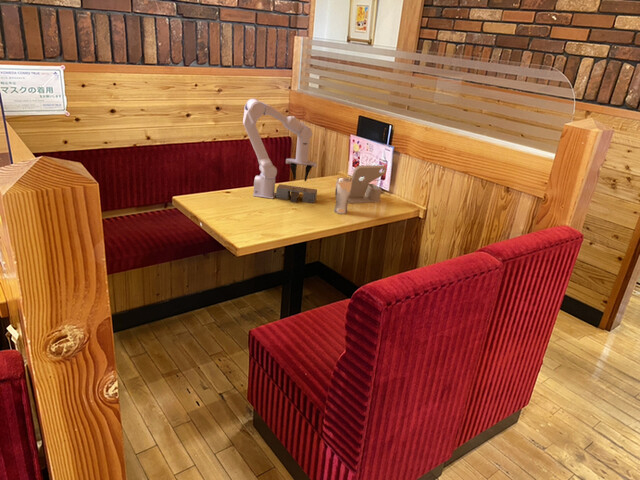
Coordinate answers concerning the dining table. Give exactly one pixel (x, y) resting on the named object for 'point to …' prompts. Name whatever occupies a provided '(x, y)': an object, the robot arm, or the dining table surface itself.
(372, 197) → the phone holder
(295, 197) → the plug
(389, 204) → the dining table surface
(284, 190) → the block
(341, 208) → the beer glass
